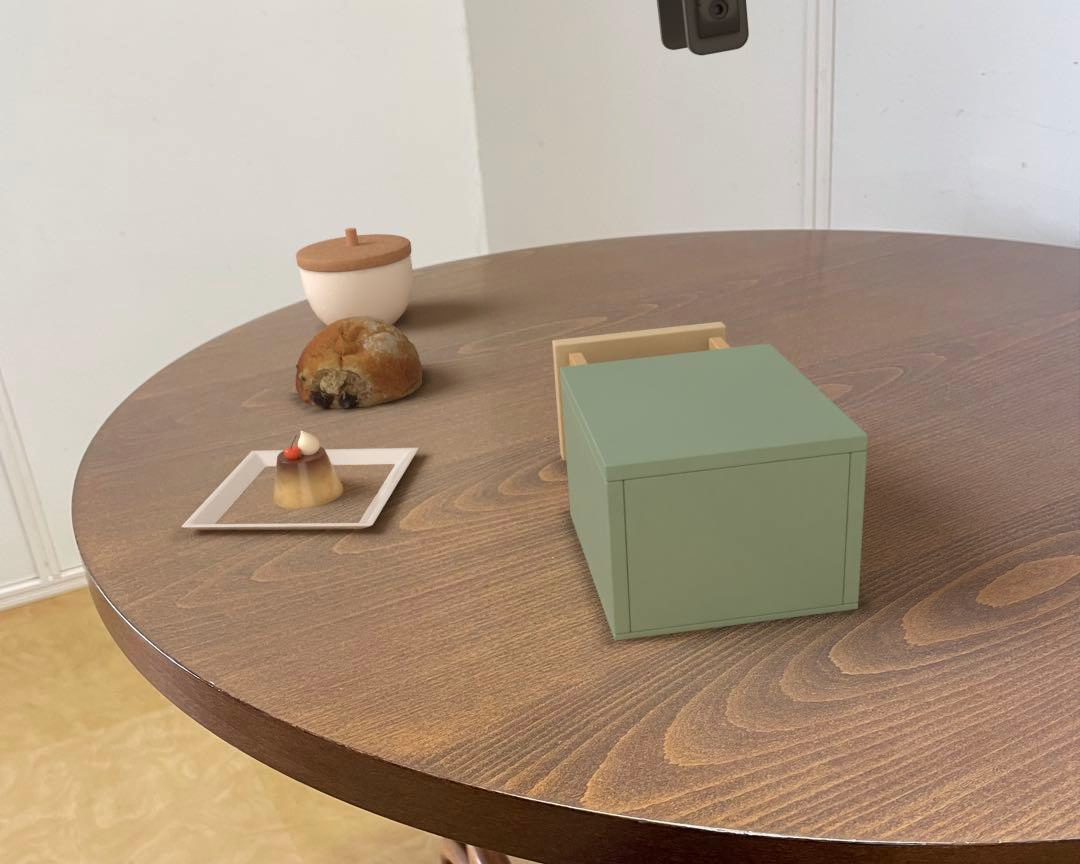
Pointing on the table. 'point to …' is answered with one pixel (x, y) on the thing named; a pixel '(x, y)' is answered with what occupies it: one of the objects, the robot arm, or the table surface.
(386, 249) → the trinket box
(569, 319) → the table surface
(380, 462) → the dessert
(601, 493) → the cabinet
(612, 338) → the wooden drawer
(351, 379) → the bread roll
